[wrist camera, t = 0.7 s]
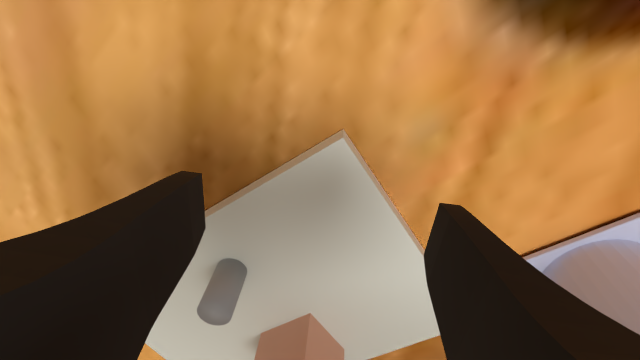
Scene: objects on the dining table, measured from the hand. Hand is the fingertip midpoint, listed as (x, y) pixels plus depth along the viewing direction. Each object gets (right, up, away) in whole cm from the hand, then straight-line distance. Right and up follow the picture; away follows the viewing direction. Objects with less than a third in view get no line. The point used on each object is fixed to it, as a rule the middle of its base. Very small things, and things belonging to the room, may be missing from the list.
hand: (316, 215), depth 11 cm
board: (-3, -7, +15) cm, 17 cm away
